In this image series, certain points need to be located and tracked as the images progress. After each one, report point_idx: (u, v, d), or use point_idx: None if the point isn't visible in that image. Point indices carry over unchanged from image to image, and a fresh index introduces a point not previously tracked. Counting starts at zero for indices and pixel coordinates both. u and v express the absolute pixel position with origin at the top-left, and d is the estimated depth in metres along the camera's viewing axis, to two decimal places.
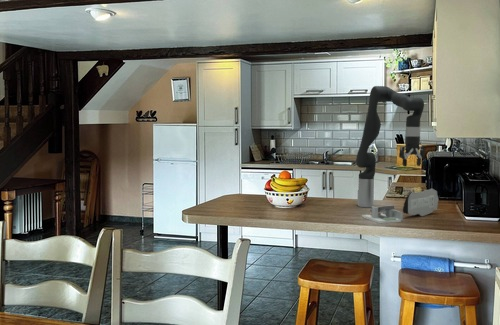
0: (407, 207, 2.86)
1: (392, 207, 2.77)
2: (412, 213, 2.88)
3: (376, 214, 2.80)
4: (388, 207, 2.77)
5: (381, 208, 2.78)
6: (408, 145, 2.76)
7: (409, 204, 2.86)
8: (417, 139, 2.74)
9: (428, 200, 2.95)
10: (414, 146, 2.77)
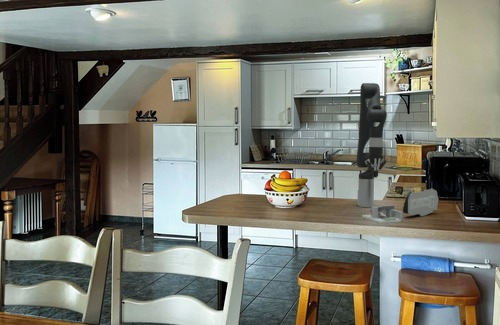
0: (407, 207, 2.86)
1: (392, 207, 2.77)
2: (412, 213, 2.88)
3: (376, 214, 2.80)
4: (388, 207, 2.77)
5: (381, 208, 2.78)
6: (371, 155, 2.86)
7: (409, 204, 2.86)
8: (380, 149, 2.84)
9: (428, 200, 2.95)
10: (377, 156, 2.87)
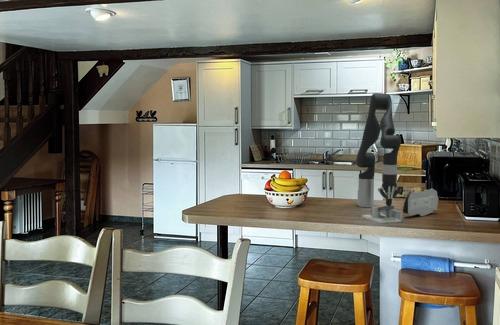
0: (407, 207, 2.86)
1: (392, 207, 2.77)
2: (412, 213, 2.88)
3: (376, 214, 2.80)
4: (388, 207, 2.77)
5: (381, 208, 2.78)
6: (385, 183, 2.74)
7: (409, 204, 2.86)
8: (394, 177, 2.73)
9: (428, 200, 2.95)
10: (391, 184, 2.75)
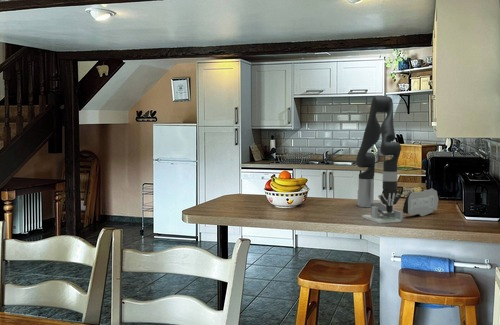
0: (407, 207, 2.86)
1: (392, 214, 2.78)
2: (412, 213, 2.88)
3: (376, 214, 2.80)
4: (388, 214, 2.77)
5: (381, 212, 2.79)
6: (385, 190, 2.74)
7: (409, 204, 2.86)
8: (394, 184, 2.72)
9: (428, 200, 2.95)
10: (391, 191, 2.75)
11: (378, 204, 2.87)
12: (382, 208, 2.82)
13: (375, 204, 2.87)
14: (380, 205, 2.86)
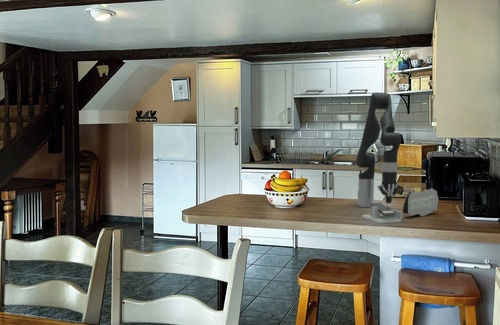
0: (407, 207, 2.86)
1: (392, 214, 2.78)
2: (412, 213, 2.88)
3: (376, 214, 2.80)
4: (388, 214, 2.77)
5: (381, 212, 2.79)
6: (385, 180, 2.74)
7: (409, 204, 2.86)
8: (394, 175, 2.72)
9: (428, 200, 2.95)
10: (391, 181, 2.75)
11: (378, 204, 2.87)
12: (382, 208, 2.82)
13: (375, 204, 2.87)
14: (380, 205, 2.86)
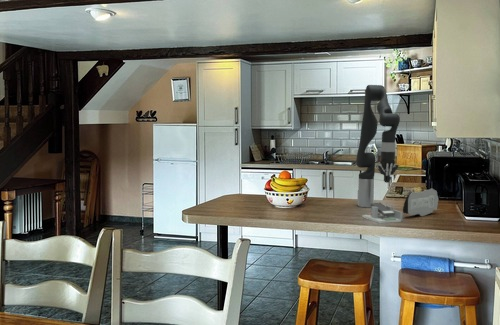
0: (407, 207, 2.86)
1: (392, 214, 2.78)
2: (412, 213, 2.88)
3: (376, 214, 2.80)
4: (388, 214, 2.77)
5: (381, 212, 2.79)
6: (383, 160, 2.81)
7: (409, 204, 2.86)
8: (392, 154, 2.79)
9: (428, 200, 2.95)
10: (389, 161, 2.82)
11: (378, 204, 2.87)
12: (382, 208, 2.82)
13: (375, 204, 2.87)
14: (380, 205, 2.86)
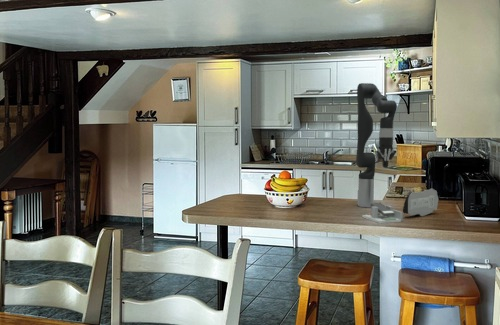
0: (407, 207, 2.86)
1: (392, 214, 2.78)
2: (412, 213, 2.88)
3: (376, 214, 2.80)
4: (388, 214, 2.77)
5: (381, 212, 2.79)
6: (382, 146, 2.91)
7: (409, 204, 2.86)
8: (390, 140, 2.89)
9: (428, 200, 2.95)
10: (387, 146, 2.92)
11: (378, 204, 2.87)
12: (382, 208, 2.82)
13: (375, 204, 2.87)
14: (380, 205, 2.86)
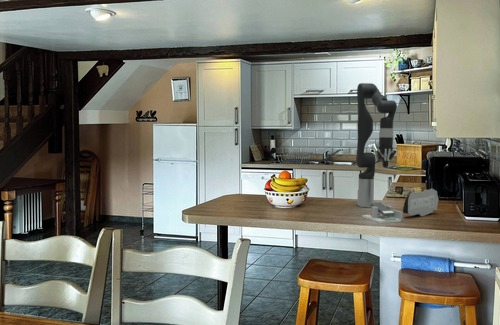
0: (407, 207, 2.86)
1: (392, 214, 2.78)
2: (412, 213, 2.88)
3: (376, 214, 2.80)
4: (388, 214, 2.77)
5: (381, 212, 2.79)
6: (382, 145, 2.91)
7: (409, 204, 2.86)
8: (390, 140, 2.89)
9: (428, 200, 2.95)
10: (387, 146, 2.92)
11: (378, 204, 2.87)
12: (382, 208, 2.82)
13: (375, 204, 2.87)
14: (380, 205, 2.86)
